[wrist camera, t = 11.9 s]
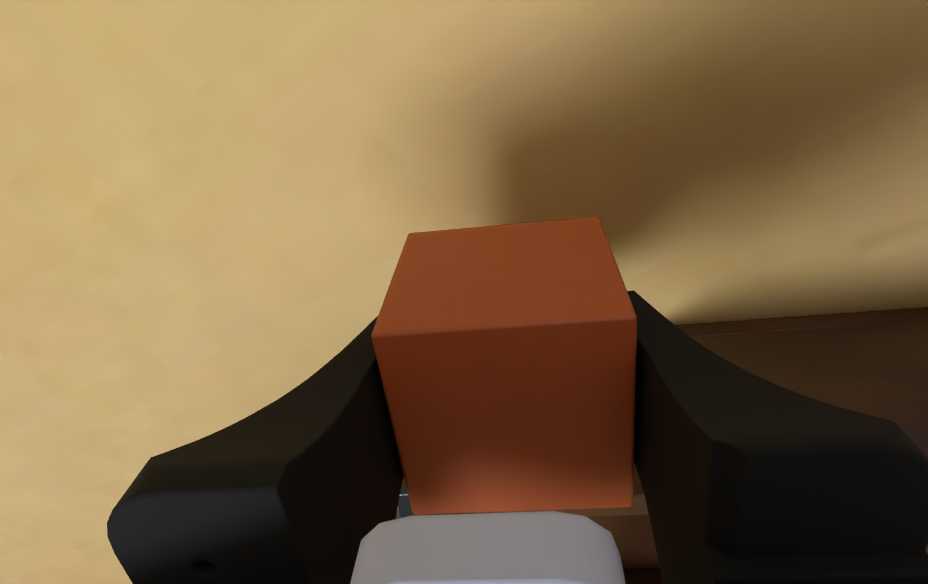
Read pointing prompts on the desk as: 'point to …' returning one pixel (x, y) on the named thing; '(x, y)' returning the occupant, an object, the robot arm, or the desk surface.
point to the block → (510, 369)
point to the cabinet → (837, 360)
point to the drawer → (623, 524)
